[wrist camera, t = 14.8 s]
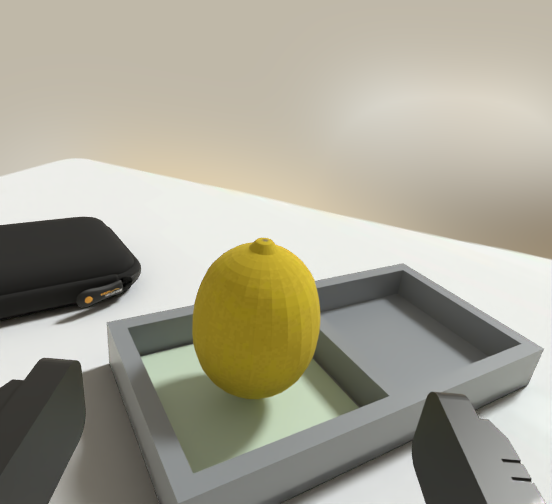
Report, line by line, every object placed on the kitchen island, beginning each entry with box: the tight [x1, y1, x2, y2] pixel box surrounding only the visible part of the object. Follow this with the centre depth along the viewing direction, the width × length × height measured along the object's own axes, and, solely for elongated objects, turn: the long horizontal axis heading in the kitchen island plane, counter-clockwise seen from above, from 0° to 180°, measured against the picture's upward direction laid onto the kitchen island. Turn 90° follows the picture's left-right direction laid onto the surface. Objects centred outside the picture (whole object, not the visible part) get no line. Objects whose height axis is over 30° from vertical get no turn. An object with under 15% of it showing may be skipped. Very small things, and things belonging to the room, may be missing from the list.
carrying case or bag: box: [0, 217, 141, 320], centre depth 28 cm, size 11×3×15 cm
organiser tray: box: [107, 264, 544, 504], centre depth 24 cm, size 20×11×2 cm, turn 120°
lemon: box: [192, 238, 320, 399], centre depth 20 cm, size 6×6×8 cm
